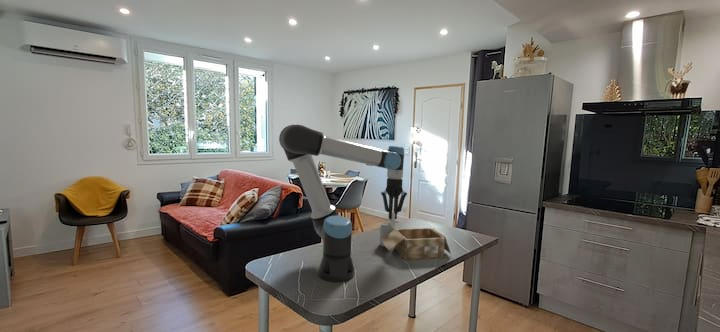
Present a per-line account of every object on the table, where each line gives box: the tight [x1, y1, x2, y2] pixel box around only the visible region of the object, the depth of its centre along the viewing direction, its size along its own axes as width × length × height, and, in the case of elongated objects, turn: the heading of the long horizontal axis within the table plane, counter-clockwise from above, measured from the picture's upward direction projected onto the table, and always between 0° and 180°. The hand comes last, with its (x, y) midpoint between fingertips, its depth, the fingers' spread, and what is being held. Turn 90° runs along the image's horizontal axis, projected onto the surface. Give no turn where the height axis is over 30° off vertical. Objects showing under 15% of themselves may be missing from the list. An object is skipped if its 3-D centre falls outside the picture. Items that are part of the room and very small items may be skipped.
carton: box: [393, 227, 445, 261], centre depth 160 cm, size 20×17×10 cm
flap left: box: [381, 228, 404, 252], centre depth 157 cm, size 9×14×1 cm
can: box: [379, 221, 395, 248], centre depth 169 cm, size 8×8×12 cm
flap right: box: [431, 228, 451, 254], centre depth 163 cm, size 9×14×1 cm
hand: (392, 225), depth 156 cm, fingers closed
